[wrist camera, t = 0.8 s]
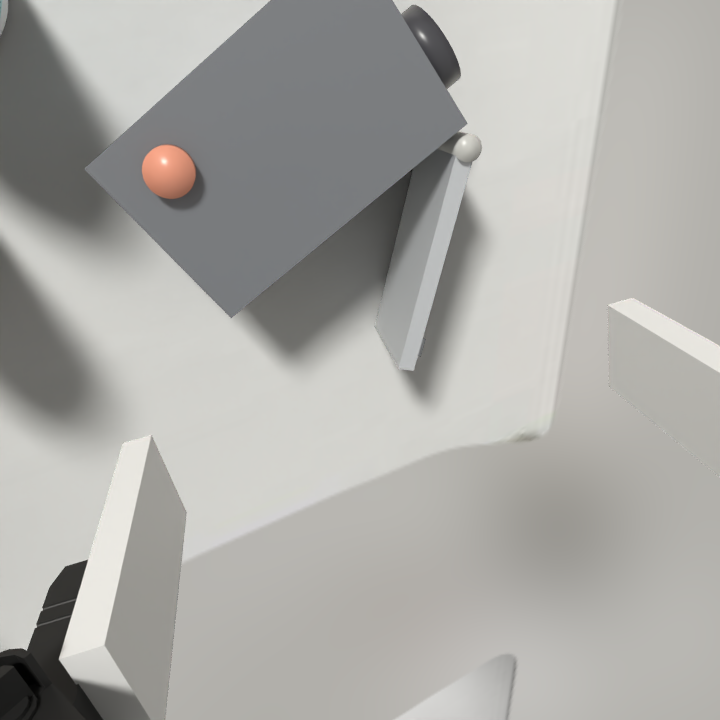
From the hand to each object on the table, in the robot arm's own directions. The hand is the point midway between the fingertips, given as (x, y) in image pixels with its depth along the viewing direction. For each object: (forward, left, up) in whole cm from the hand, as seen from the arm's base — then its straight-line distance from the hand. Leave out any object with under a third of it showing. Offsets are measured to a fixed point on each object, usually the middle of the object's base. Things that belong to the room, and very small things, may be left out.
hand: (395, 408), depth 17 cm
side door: (+5, -5, -25) cm, 26 cm away
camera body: (+2, +5, -25) cm, 26 cm away
